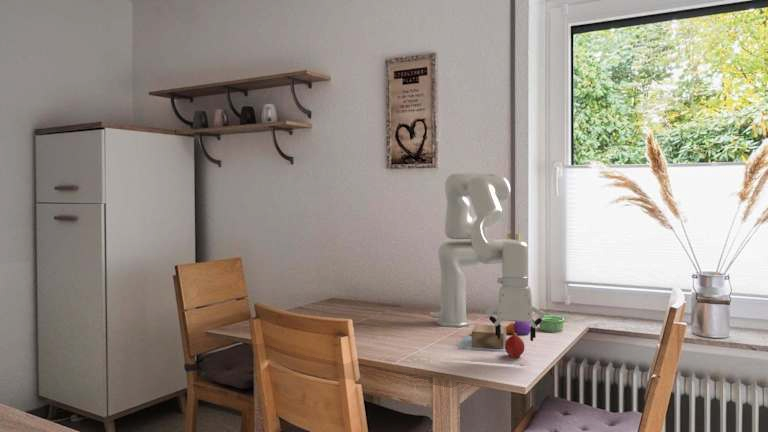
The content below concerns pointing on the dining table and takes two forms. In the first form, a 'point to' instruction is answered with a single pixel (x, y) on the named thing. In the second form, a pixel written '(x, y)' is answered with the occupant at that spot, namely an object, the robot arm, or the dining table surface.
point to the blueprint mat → (468, 345)
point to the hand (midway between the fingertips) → (515, 339)
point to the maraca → (518, 328)
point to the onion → (514, 346)
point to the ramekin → (552, 324)
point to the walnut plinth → (488, 337)
